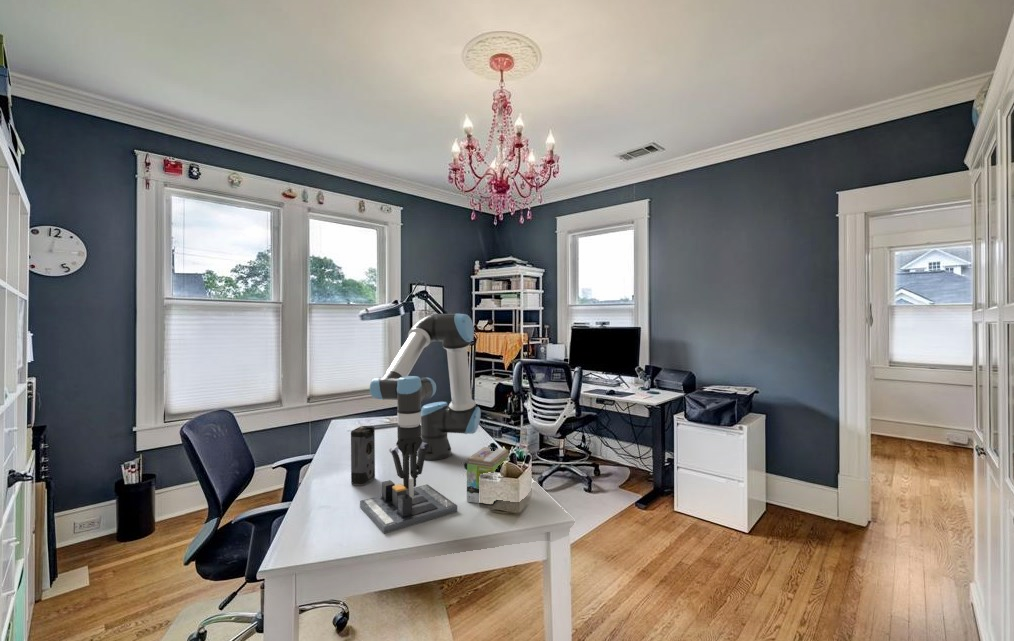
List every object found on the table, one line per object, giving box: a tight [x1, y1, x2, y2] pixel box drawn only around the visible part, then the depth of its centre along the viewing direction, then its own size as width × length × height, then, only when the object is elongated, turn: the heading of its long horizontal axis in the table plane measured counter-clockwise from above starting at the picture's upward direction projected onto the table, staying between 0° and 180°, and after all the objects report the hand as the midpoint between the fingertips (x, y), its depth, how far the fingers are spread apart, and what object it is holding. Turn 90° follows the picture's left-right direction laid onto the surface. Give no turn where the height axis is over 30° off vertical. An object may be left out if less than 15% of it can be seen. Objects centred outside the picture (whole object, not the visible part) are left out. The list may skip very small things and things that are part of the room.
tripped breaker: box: [392, 483, 406, 508], centre depth 141 cm, size 3×4×6 cm
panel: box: [359, 479, 458, 535], centre depth 143 cm, size 24×22×7 cm
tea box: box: [466, 446, 510, 504], centre depth 153 cm, size 15×10×15 cm
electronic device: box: [350, 425, 376, 487], centre depth 167 cm, size 9×6×20 cm, turn 168°
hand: (409, 497), depth 143 cm, fingers closed
